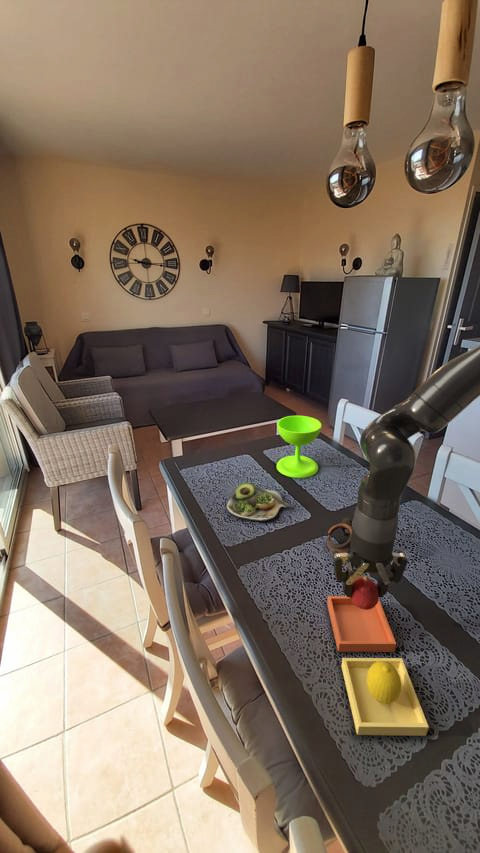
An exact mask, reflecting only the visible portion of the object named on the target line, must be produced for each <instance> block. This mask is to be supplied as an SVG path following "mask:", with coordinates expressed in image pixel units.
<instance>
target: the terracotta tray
mask: <svg viewBox="0 0 480 853" xmlns="http://www.w3.org/2000/svg"><path fill="white" fill-rule="evenodd" d="M326 605H327V611H328V613H329V614H328V615H329V618H330V622H331V627H332V631H333V637H334V640H335V645H336V649H337V653H395V652H396V648H397V642H396V639H395V637H394V634H393V631H392V629H391V626H390V624H389V621H388V618H387V616H386V613H385V610H384V608H383V605H382V603H381V601H380V599H379V600H378V603H377V605H376V606H375V607H374V608H372V609H369V610H364V609H360V608H358V607H357V606H355V605H354V604H353V602H352V601H351V599H350V597H347V595H342V596H341V595H339V596H338V595H334V596H333V595H328V596H327V603H326Z"/></svg>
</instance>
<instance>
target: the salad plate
mask: <svg viewBox="0 0 480 853" xmlns="http://www.w3.org/2000/svg"><path fill="white" fill-rule="evenodd" d="M289 507H290V503H288V502H287V501H284V500H283V498H282V496H281V494H280V493H279V492H277V491H276V490H271V489H266V488H261V487H258V486H257V485H256V484H253V483H250V482H243V483H241V484H239V485H238V486H236V488H235V490H234V491H233V494H232V495H231V497H230V499H229V500H228V502H227V504H226V505H225V509H226V511H227V513H229V514H230V515H231V516H232V517H235V518H237V519H243V520H246V521H247V520H248V521H258V522H259V521H260V522H265V521H270V520H272V519H275V517H276V516H277V515H278V513H279V511H280V510H281V509H282V508H289Z"/></svg>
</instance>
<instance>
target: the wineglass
mask: <svg viewBox="0 0 480 853" xmlns="http://www.w3.org/2000/svg"><path fill="white" fill-rule="evenodd" d="M276 427H277V431H278V434H279V436H280V437H281V438H282V439H283V441H284V442H286V443H288V444H290V445H292V446H295V448H294V449H295V451H294V454H292V455H287V456H284V457H282V458H280V459H279V460H278V461H277V463H276V471H278V472H279V473H280V474H281V475H284V476H286V477H289V478H295V479H305V478H309V477H312V476H314V475H316V474H317V473H318V471H319V465H318V463H317V462H316V461H315V460H314V459H313V458H311V457H307V456H304V455H301V449H302V448H301V447H302V446H306V445H309V444H311V443H313V442H314V441H315V440H316V439H317V438H318V436H319V435H320V433H321V430H322V423H321V421H320V420H318V419H316V418H315V417H311V416H306V415H287V416H283V417H282V418H280V419H278V421H277V422H276Z"/></svg>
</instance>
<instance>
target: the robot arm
mask: <svg viewBox="0 0 480 853" xmlns="http://www.w3.org/2000/svg"><path fill="white" fill-rule="evenodd" d="M479 397H480V344H479V345H477V346H475V347H473V348H471V349H469V350H467V351H465V352H464V353H462V354H460V355H458V356H456V357H454V358H452V359H451V360H449V361H447V362H446V363H444V364H443V365H441V366H440V367H438V369H436V370H435V371H434V372H433V373H432V374H430V375H429V376H428V377H427V378H426V379H425V380H424V381H423V382H422V383H421V384H420V385H419V386H418V387H417V388H416V389H415V390H414V391H413V392H412V393H411V394H410V395H409V396H408V397H407V398H406V399H405V400H403V401H401V402H400V403H397V404H396V405H394V406H393V407H391V408H390V409H388V410H387V411H384V412H383V413H381V414H380V415H379V416H377V417H376V418H374V419H373V420H371V422H369V423H368V425H367V426H366V427H365V428H364V430H363V432H361V435H360V439H359V446H360V449H361V451H362V453H363V455H364V456H365V458H366V459H367V461H368V463H369V472H368V473H367V474H366V475H364V476H363V477H362V478H361V480H360V483H359V486H358V491H357V492H358V493H357V501H356V507H355V510H354V512H353V513H354V514H353V518H352V535H351V544H350V547H348V551H347V553H339V552H338V551H333V552H332V560H333V570H334V574H335V579H336V581H337V583H342V591H343V595H344V596H347V597H351V594H352V587H353V584H352V583H353V582H354V580H355V579H356V578H357V579H358V578H359V577H362V576H361V575H363V574H368V573H370V574H371V573H372V574H378V573H379V576H377V582H376V586H377V588H378V591H379V598H384V596H385V595H387V593H388V588H389V585H390V584H391V583H392V582H394V583H395V584H397V583H399V582H401V579H402V577H403V574H404V572H405V570H406V567H407V565H408V563H409V560H408V559H407V557H406V555H405V553H404V551H403V550H402V549H401V550H400V549H399V550H397V551H396V552H394V547H395V541H396V535H397V532H398V531H397V530H398V525H399V511H400V507H401V501H402V494H403V493H404V491H405V490H406V488H407V486H408V484H409V482H410V480H411V478H412V476H413V474H414V471H415V469H416V465H417V452H416V448H415V446H414V445H413V443H412V442H411V440H409V439H410V438H411V437H413V436H415V435H416V434H418V433H420V432H425V433H428V434H436V433H439V432H440V431H442V430H443V429H444V428H445V427H446V426H447V425H449V423H451V422H452V421H453V420H454V419H456V418H457V417H458V416H459V415H460V414H461V413H462V412H463V411H464V410H466V409H467V408H468V407H469V406H470V405H471V404H472V403H473V402H474V401H476V399H478V398H479ZM347 561H349V562H348V563H347V567H346V568H345V569H344V571H343V567H345V564H346V562H347ZM390 563H391V566H390V568H389V570H388V571H386V570H385V568H386V567H387V566H388V565H389V564H390Z"/></svg>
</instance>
